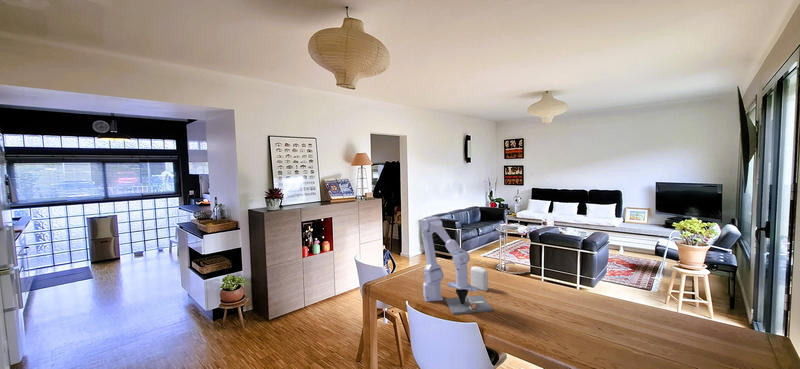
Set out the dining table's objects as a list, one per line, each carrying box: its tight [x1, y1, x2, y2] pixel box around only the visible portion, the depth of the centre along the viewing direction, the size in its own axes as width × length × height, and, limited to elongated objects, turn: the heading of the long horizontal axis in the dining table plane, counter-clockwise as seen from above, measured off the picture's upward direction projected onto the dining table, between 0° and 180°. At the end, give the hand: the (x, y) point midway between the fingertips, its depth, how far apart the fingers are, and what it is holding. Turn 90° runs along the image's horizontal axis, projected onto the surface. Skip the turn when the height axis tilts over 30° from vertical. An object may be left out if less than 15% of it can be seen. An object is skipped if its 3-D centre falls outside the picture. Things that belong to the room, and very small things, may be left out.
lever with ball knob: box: [465, 294, 476, 310], centre depth 157 cm, size 13×5×2 cm, turn 5°
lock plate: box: [444, 295, 494, 315], centre depth 161 cm, size 20×16×2 cm
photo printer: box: [470, 266, 489, 292], centre depth 181 cm, size 10×4×12 cm, turn 40°
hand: (462, 303), depth 155 cm, fingers closed
